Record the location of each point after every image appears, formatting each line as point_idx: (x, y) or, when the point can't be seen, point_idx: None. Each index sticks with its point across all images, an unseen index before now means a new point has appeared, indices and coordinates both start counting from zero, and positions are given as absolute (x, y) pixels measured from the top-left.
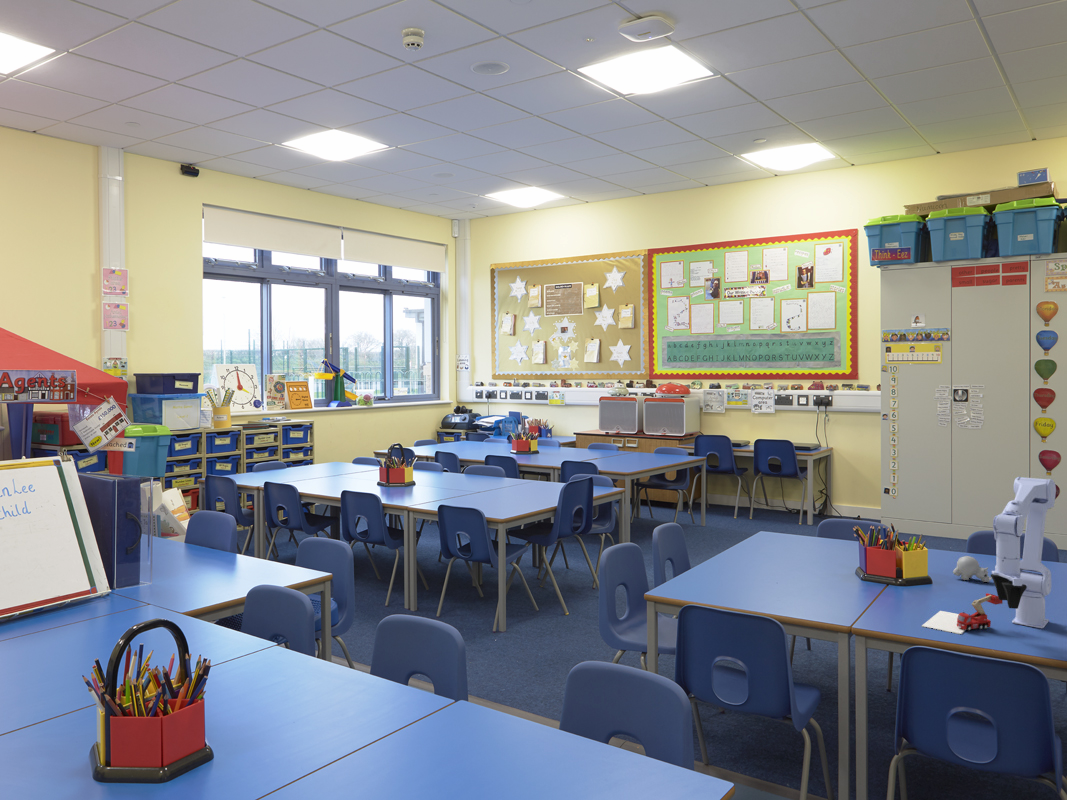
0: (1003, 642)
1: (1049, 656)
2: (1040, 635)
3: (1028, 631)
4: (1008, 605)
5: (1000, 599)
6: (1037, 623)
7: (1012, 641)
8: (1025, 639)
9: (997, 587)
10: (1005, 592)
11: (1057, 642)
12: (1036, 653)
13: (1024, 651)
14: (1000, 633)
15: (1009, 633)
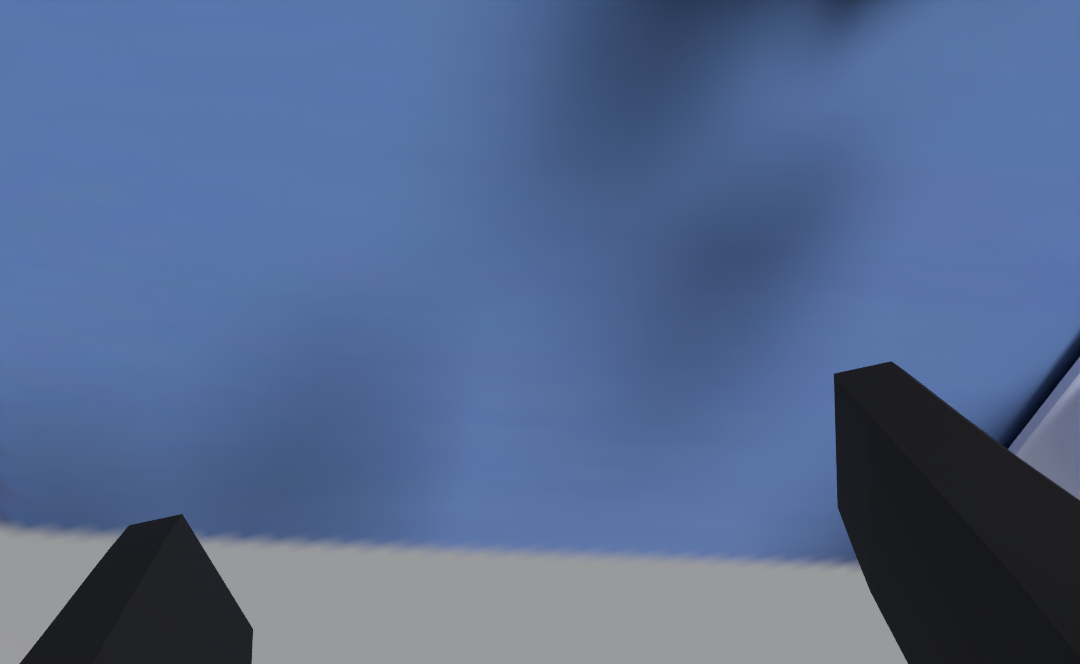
0: (280, 68)
1: (29, 475)
2: (761, 447)
3: (879, 362)
4: (128, 556)
5: (837, 398)
6: (1074, 468)
7: (393, 181)
8: (552, 317)
9: (1045, 626)
10: (928, 645)
11: (574, 548)
12: (46, 381)
13: (31, 278)
14: (707, 64)
15: (743, 173)
